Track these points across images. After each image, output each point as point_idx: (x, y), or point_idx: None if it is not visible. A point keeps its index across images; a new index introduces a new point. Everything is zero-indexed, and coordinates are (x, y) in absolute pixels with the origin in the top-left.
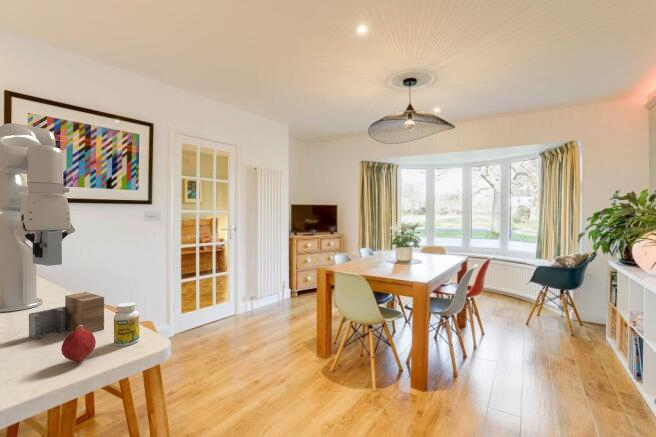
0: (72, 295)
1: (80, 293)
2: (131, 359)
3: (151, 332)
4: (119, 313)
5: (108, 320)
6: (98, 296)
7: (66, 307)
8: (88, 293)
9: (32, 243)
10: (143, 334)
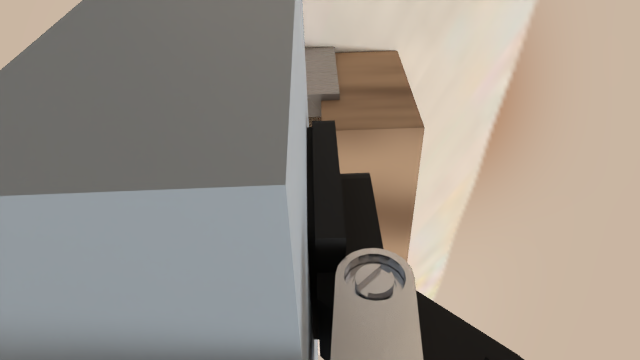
0: (345, 152)
1: (389, 140)
2: (318, 352)
3: (438, 280)
4: None
5: (458, 92)
6: (399, 245)
7: (319, 116)
8: (410, 166)
9: (51, 31)
10: (418, 278)
